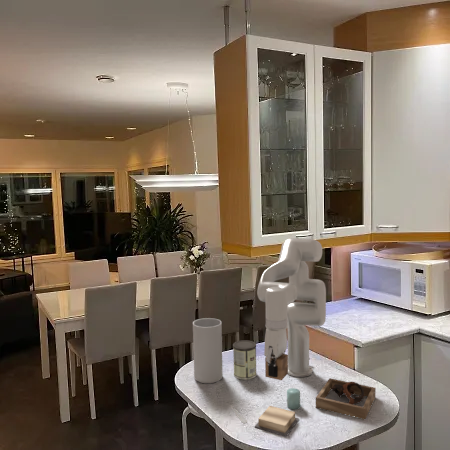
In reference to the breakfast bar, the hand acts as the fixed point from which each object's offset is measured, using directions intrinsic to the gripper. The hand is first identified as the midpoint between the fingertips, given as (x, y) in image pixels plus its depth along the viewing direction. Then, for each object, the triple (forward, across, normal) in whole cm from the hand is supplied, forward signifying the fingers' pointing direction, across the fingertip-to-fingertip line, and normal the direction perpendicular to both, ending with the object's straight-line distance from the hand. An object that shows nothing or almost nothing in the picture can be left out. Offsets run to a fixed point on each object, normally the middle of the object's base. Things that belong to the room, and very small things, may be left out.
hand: (276, 372), depth 157 cm
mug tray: (+19, -26, +18) cm, 37 cm away
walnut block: (+1, 0, 0) cm, 1 cm away
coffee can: (+19, -30, -28) cm, 45 cm away
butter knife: (+20, -3, -21) cm, 29 cm away
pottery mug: (+19, -28, +18) cm, 39 cm away
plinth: (+19, 0, 0) cm, 19 cm away
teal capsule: (+19, -14, +1) cm, 24 cm away
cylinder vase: (+19, -20, -41) cm, 50 cm away
